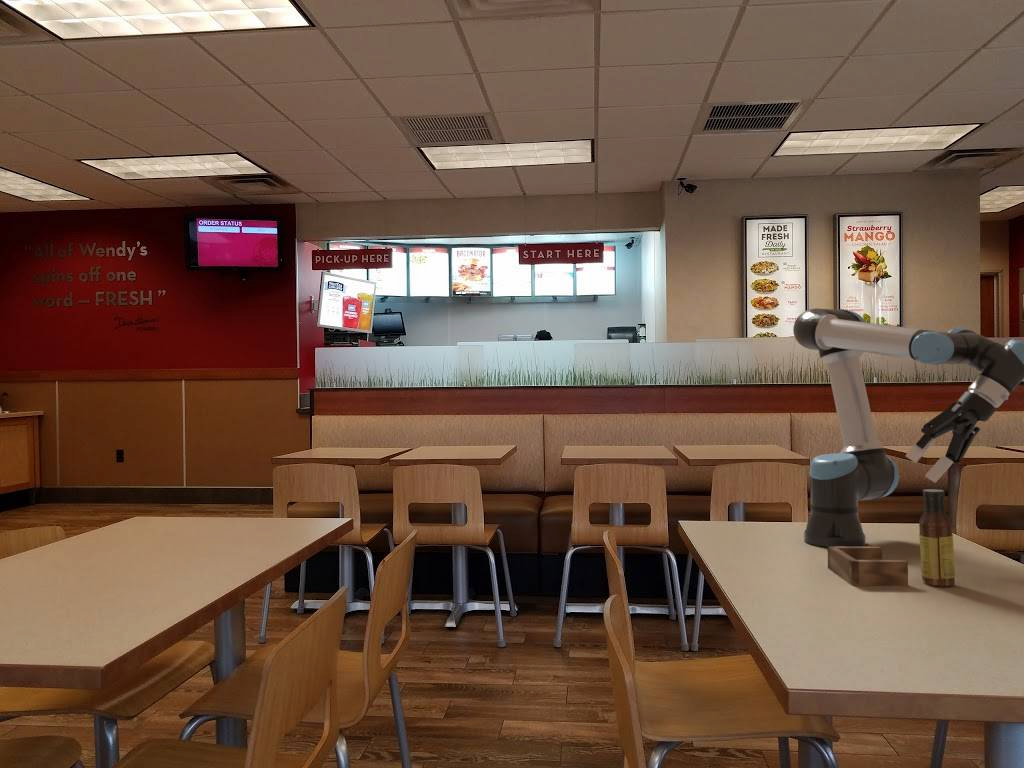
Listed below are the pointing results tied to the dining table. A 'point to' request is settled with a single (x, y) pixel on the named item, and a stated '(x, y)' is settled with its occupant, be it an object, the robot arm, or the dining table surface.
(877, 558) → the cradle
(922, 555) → the sauce bottle
